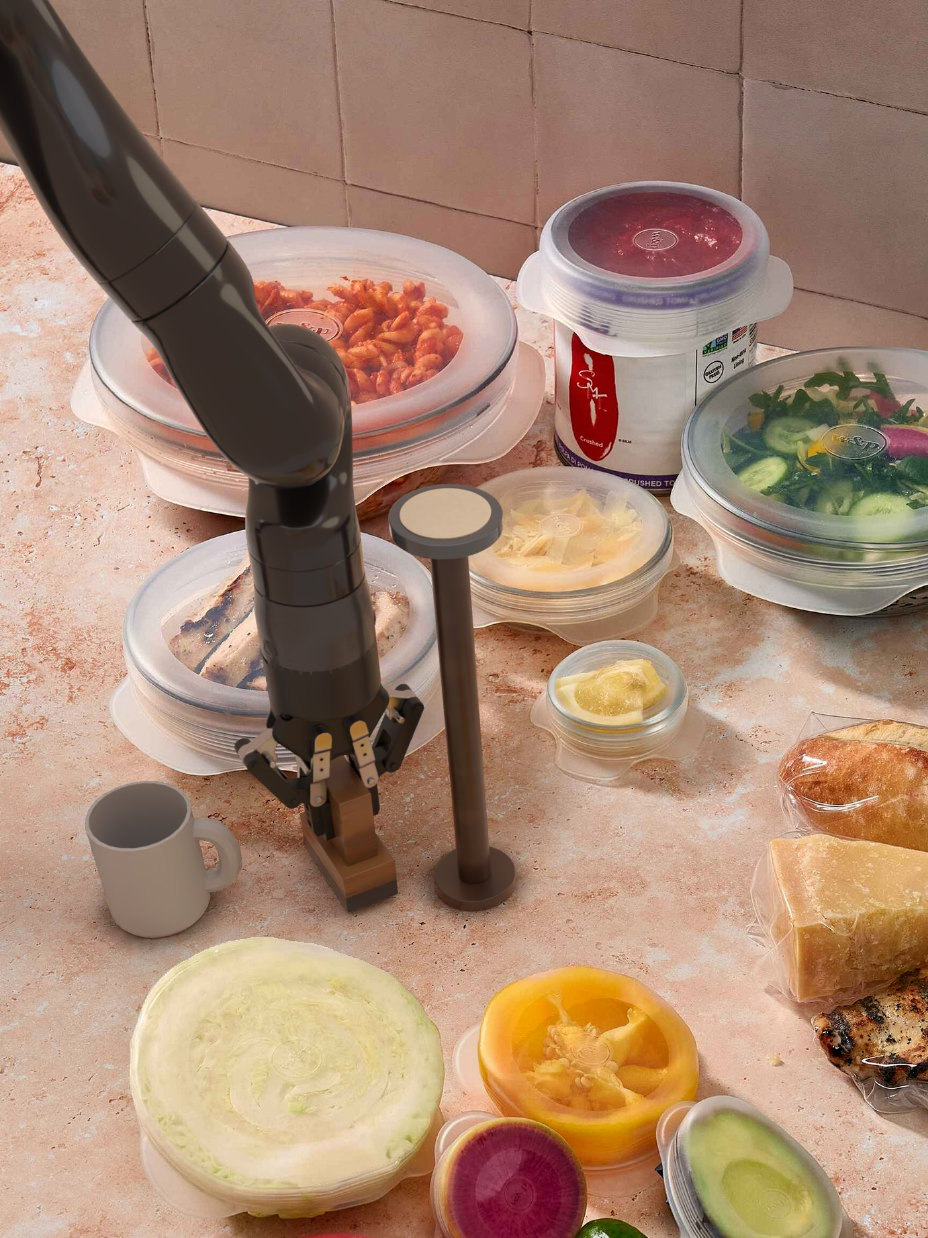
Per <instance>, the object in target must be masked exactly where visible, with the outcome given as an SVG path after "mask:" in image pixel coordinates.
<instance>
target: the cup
mask: <svg viewBox="0 0 928 1238" xmlns="http://www.w3.org/2000/svg"><path fill="white" fill-rule="evenodd" d="M84 829H85V831H86V836H87V839H88V843H89V847H90V850H91V853H92V857H93V860H94V863H95V867H96V870H97V873H98V877H99V880H100V884H101V886H102V890H103V894H104V897H105V901H106V904H107V908H108V910H109V913H110V915H111V917H112V919H113V921H114V923H115V924H116V925H117V926H118V927H119V928H120V929H121V930H123V931H126V932H127V933H129V934H131V935H133V936H137V937H140V938H145V939H147V938H148V939H151V938H152V939H159V938H166V937H170V936H173V935H177V934H179V933H181V932H184V931H185V930H187V929H189V928H191V927H192V926H193V925H194V924H195V923H196V922H197V921H199V920H200V919H201V918H202V916H203V915H204V914H205V912H206V910H207V908H208V907H209V904H210V900H211V893H215V892H220V891H223V890H225V889H227V888H228V887H230V886H231V885H232V884H233V883H234V882H235V881H236V880H237V879H238V877H239V874H240V873H241V870H242V866H243V865H242V864H243V855H242V850H241V846H240V844H239V842H238V840H237V838H236V836H235V835H234V833H233V832H232V831H231V829H230V828H228V826H227V825H225V824H224V823H223V822H221V821H219V820H217V819H214V818H209V817H203V816H202V817H194V813H193V808H192V803H191V800H190V799H189V797H188V795H187V794H186V793H185V792H184V791H183V790H182V789H180V787H177V786H175V785H173V784H170V783H169V782H163V781H159V780H140V781H134V782H129V783H125V784H122V785H118V786H115V787H114V788H112V789H110V790H108V791H107V792H105V793H103V794H102V795H101V796H100V797H98V798H97V799H96V800H95V801H94V802H93V803H92V804H91V806H89V808H88V810H87V812H86V815H85V818H84ZM201 841H204V842H209V843H210V844H212V845H213V846H214V847H215V848H216V850H217V855H218V867H215V868H214V869H213V868H212V869H206V868H207V867H206V863H205V860H204V859H205V858H204V854H203V851H202V846H201Z"/></svg>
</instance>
